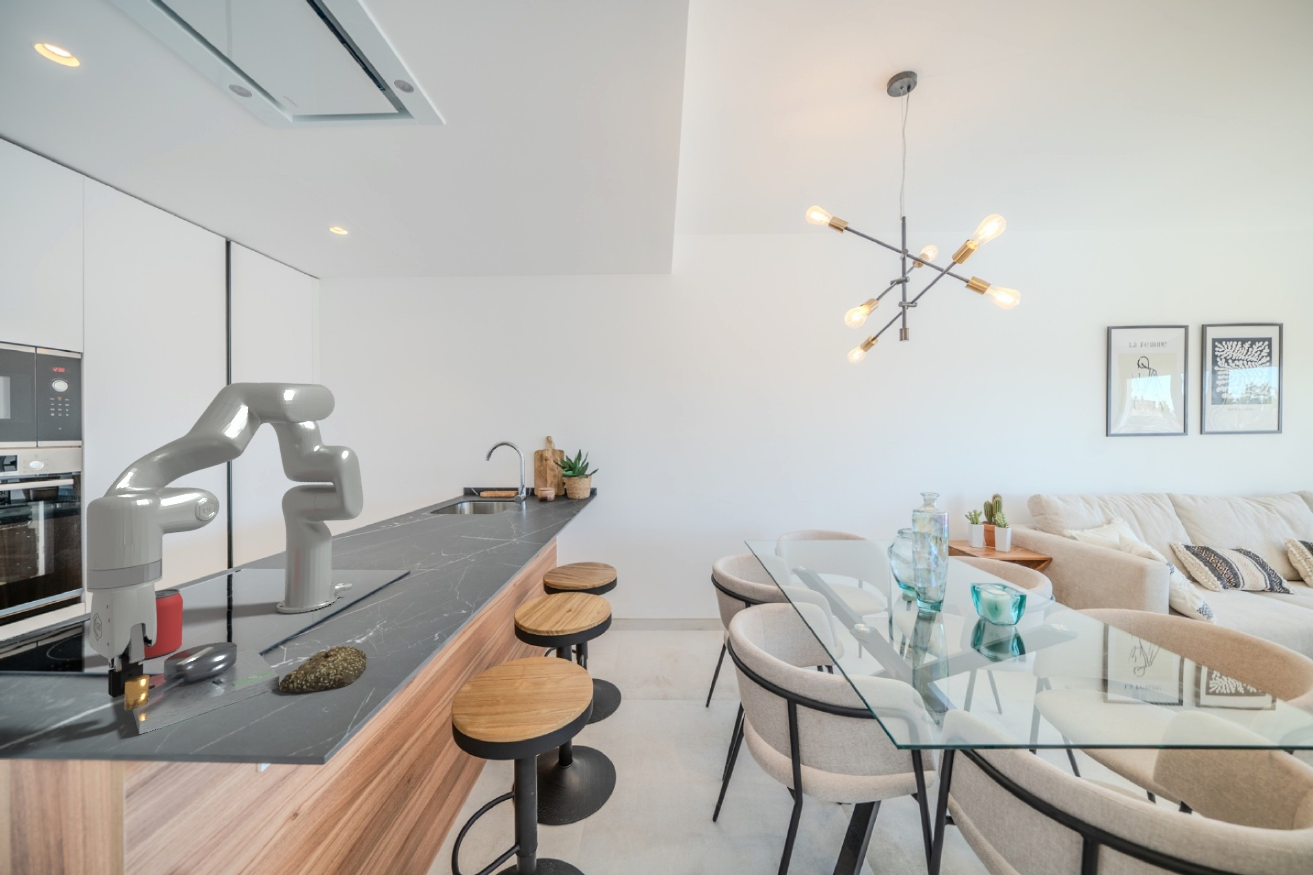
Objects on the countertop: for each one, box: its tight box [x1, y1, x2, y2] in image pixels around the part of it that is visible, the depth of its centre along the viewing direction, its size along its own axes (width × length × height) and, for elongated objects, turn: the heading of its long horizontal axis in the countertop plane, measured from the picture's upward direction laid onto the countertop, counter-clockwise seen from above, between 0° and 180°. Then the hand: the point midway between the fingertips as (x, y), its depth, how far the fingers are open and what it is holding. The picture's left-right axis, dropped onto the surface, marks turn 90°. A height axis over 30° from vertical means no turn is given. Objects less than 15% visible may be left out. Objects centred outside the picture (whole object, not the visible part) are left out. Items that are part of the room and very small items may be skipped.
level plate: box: [132, 647, 280, 735], centre depth 76 cm, size 16×17×3 cm
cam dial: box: [123, 641, 238, 711], centre depth 74 cm, size 17×9×4 cm, turn 7°
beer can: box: [144, 588, 184, 660], centre depth 89 cm, size 7×7×12 cm
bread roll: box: [278, 645, 368, 693], centre depth 82 cm, size 13×12×5 cm
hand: (125, 691), depth 69 cm, fingers closed
